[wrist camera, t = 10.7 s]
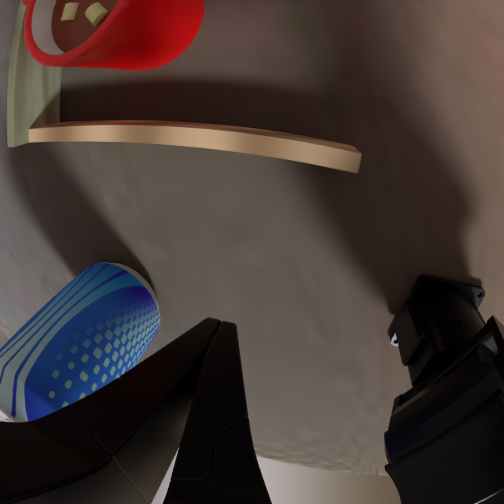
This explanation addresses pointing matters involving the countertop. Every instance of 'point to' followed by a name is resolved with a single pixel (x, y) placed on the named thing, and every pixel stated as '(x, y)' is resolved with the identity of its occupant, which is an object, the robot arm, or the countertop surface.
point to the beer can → (77, 342)
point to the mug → (110, 32)
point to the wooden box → (142, 121)
